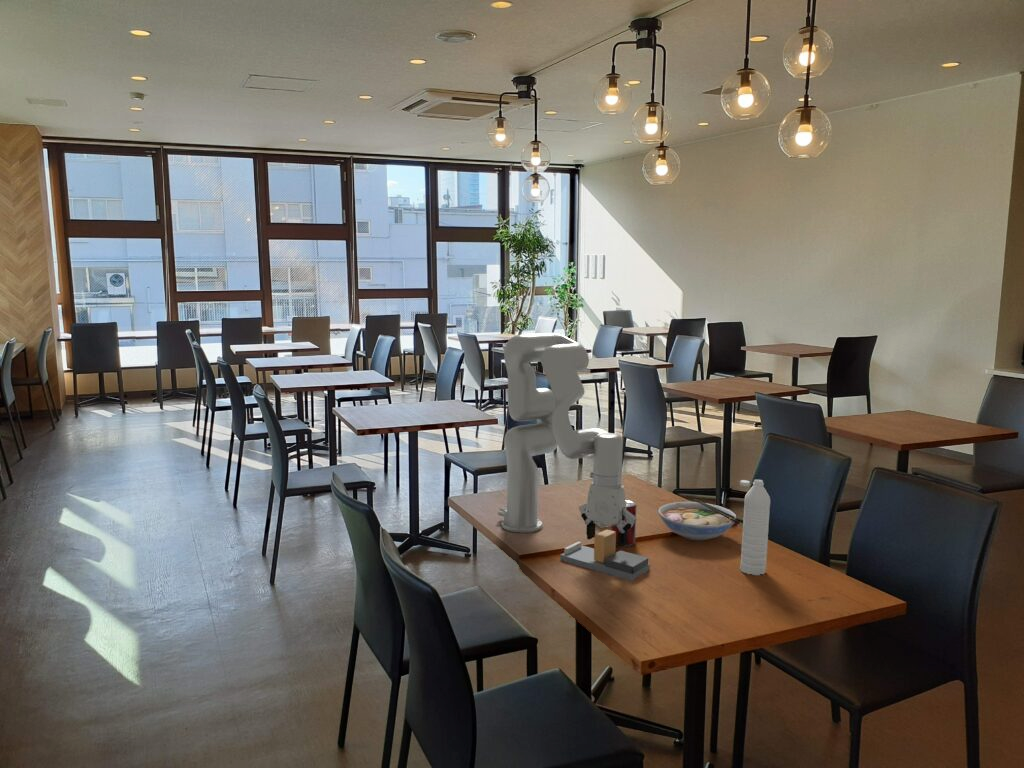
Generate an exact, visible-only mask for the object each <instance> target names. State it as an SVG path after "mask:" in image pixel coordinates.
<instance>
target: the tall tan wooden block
mask: <svg viewBox="0 0 1024 768" xmlns="http://www.w3.org/2000/svg"><path fill="white" fill-rule="evenodd" d="M593 546H594V547H593V548H594V560H595V561H599V562H602V563H604V562H605V558H607V557H609V556H611V555H613V554H615V553H616V549H617V548H616V546H617V545H616V532H615V531H611V530H610V529H607V528H606V529H604V530H602V531H600V532H598V533H595V537H594V543H593Z"/></svg>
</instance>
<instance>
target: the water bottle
mask: <svg viewBox="0 0 1024 768" xmlns="http://www.w3.org/2000/svg"><path fill="white" fill-rule="evenodd" d="M752 484H753V485H752V487H750V489H749V490H748V491H747V493H746V494H745V496H744V500H743V501H744V506H743V519H742V520H744V521H743V523H742V535H741V536H742V537H741V538H742V540H741V549H740V550H741V555H740V559H741V560H740V567H739V568H740V571H741V572H742V573H743V574H746V573H747V575H749V574H752V575H751V576H761V575H760V574H763V575H765V574H764V573H766V572H767V555H768V541H769V536H768V535H769V525H770V524H769V523H770V511H771V509H770V508H771V497H770V495H769V492H767V490H766V488H765V487H764V485H765V483H764V480H763V479H754V480H753V482H752ZM739 485H740V486H742V487H749V486H750V485H751V482H750V481H749V480H746V479H741V480H739Z"/></svg>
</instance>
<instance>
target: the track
mask: <svg viewBox="0 0 1024 768" xmlns="http://www.w3.org/2000/svg"><path fill="white" fill-rule="evenodd" d="M563 550H564V552H563V553H561V554H560V556H559V557H560V561H563V562H565V563H569V564H573V565H575V566H579V567H583V568H586V569H589V570H593V571H596V572H600V573H602V574H607V575H609V576H612V577H616V578H619V579H623V580H627V581H629V582H632V581H633V580H634V579H636V578H638V577H640V576H641V575H643V574H645V573H646V572H648V571H649V570H650V568H651V564H650V563H648V566H646V567H644V568H643V569H641V570H639V571H637V572H636V573H634V574H630V573H627V572H624V571H620V570H617V569H613V568H610V567H606V566H605V562H604V563H602V562H599V561H595V560H594V547H589V546H586V545H582V542H581V541H577V542H575V543H572V544H570V545H568V546H566V547H564V549H563Z"/></svg>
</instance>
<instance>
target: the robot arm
mask: <svg viewBox="0 0 1024 768" xmlns="http://www.w3.org/2000/svg"><path fill="white" fill-rule="evenodd" d="M503 356H504V357H503V358H504V364H505V368H506V372H507V397H508V398H507V399H508V402H507V403H508V413H509V416H510V418H511V419H512V420H513V421H516V422H529V421H535V420H536V423H529V424H525V425H524V424H523V425H518V426H514V427H512V428H510V429H508V430H507V431H506V432H505V435H504V439H503V444H504V451H505V456H506V477H507V478H506V507H502V506H501V507H499V508H500V509H499V510H498V512H497V515H498V516H501V517H503V520H502V521H501V527H502V529H503V530H505V529H506V530H505V531H508V532H513V533H519V532H520V533H522V534H523V533H525V534H527V533H533V532H537V531H539V530H541V529H542V528H543V522H542V521H541V520H540V519H539V518H538V516H539V514H538V511H539V510H538V508H539V506H538V505H539V468H538V466H537V464H536V462H535V461H534V459H533V457H534V456H540V455H544V454H549V453H552V452H554V451H555V450H556V449H557V448H558V449H559V450H560V452H561V453H562V455H563V456H564V457H566V458H568V459H571V460H577V459H582V458H583V459H584V458H588V457H589V458H590V457H593V471H592V472H590V473H589V478H591V479H592V482H591V483H590V485H589V488H588V494H587V501H586V502H587V503H585V504H584V503H583V504H582V505H580V506H578V510H579V512H580V514H581V515H580V516H581V518H582V519H583V521H584V524H585V525H586V531H585V532H586V540H592V539H593V538H594V539H595V535H596V524H595V523H594V521H595V522H600V523H604V524H608V525H616V526H617V527H618V529H619V530H620V532H619V533H618V548H622V547H625V546H624V545H626V543H627V531H628V530H629V529H630V528H632V527H633V525H634V523H635V521H636V522H637V516H636V517H635V516H634V515H632V514H631V513H630V512H629V511H627V510H626V500H627V499H626V492H625V487H624V485H623V483H622V482H623V478H622V477H623V449H624V448H623V445H624V443H623V441H624V440H623V438H622V436H621V435H620V434H618V433H615V432H614V433H613V432H608V431H606V430H605V429H602V428H601V427H590V428H584V429H575V430H574V429H573V427H572V424H571V421H570V417H569V415H570V414H569V411H570V408H571V406H572V405H574V404H575V403H577V402H578V401H579V400H580V399H582V397H583V396H584V395H585V388H584V385H583V384H582V380H581V379H580V377H579V373H581V372H584V371H585V370H586V369H587V368H588V367H589V365H590V363H589V362H590V358H589V353H588V351H587V350H586V348H585V347H584V346H583V345H582V344H581V343H579V342H577V341H575V340H573V339H571V338H569V337H567V336H566V335H563V334H560V333H557V332H539V333H538V332H537V333H521V334H518V335H514V336H512V337H510V338H509V340H508V341H507V342H506V344H505V347H504V352H503ZM538 362H539V363H541V364H540V365H541V366H542V369H543V371H544V374H545V377H546V380H547V382H548V384H549V386H550V388H548V387H538V388H537V376H536V371H535V370H534V368H533V367H532V365H531V364H530V363H538ZM626 518H627V519H628V520H629V522H628V524H626V522H625V520H626Z"/></svg>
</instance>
